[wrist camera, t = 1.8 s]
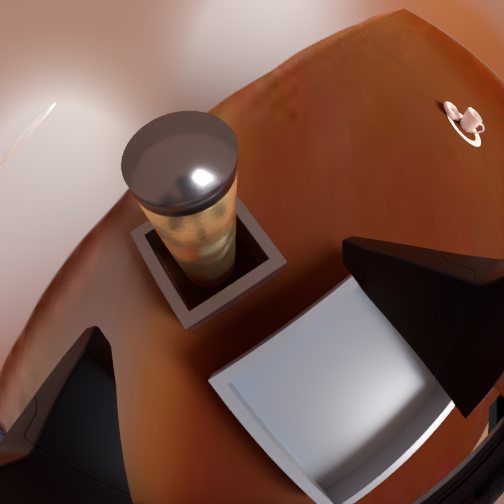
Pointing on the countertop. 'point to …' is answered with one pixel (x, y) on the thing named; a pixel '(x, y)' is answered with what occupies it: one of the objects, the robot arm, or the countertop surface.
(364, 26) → the countertop surface
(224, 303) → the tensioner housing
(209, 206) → the capped labeled canister
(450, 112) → the teacup and saucer
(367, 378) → the tray
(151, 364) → the countertop surface
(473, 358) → the robot arm
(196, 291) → the countertop surface
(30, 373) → the countertop surface
